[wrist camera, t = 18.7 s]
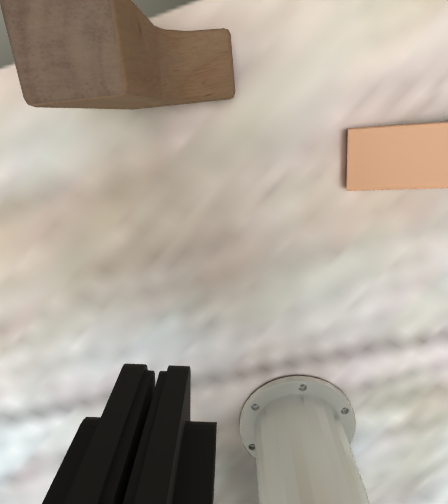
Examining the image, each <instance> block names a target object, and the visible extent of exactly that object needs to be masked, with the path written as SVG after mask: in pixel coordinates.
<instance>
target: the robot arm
mask: <svg viewBox="0 0 448 504" xmlns="http://www.w3.org/2000/svg"><path fill="white" fill-rule="evenodd" d="M190 378H191V371H190V366H168V370H167V371H160V373H159V376H158V379H157V383H156V387H155V372H154V371H148V369H147V365H144V364H124V365H123V367H122V369H121V372H120V374H119V376H118V379H117V381H116V383H115V386H114V388H113V390H112V393H111V395H110V397H109V400H108V402H107V404H106V407H105V409H104V411H103V414H102V416H101V418H100V417H86V418H85V419H84V420H83V421H82V423H81V425H80V427H79V429H78V431H77V433H76V435H75V437H74V439H73V441H72V443H71V445H70V447H69V449H68V451H67V453H66V455H65V457H64V460H63V462H62V464H61V466H60V468H59V470H58V472H57V474H56V476H55V478H54V480H53V482H52V484H51V486H50V488H49V490H48V492H47V495H46V497H45V499H44V501H43V503H42V504H213V498H214V478H215V455H216V427H217V422H194V421H190ZM355 428H356V421H355V415H354V412H353V409H352V407H351V404H350V403H349V401H348V399H347V398H346V396H345V395H344V394H343V393H342V392H341V391H340V390H339V389H338V388H336V387H335V386H333V385H332V384H330V383H328V382H326V381H324V380H321V379H317V378H313V377H307V376H291V377H285V378H280V379H277V380H274V381H272V382H269V383H267V384H265V385H264V386H262V387H261V388H259V389H258V390H256V391H255V392H254V393H253V394H252V395H251V396H250V397H249V399H248V400H247V402H246V403H245V405H244V407H243V409H242V412H241V416H240V435H241V440H242V442H243V444H244V446H245V448H246V449H247V451H248V452H249V453H250V455H252V456H253V457H254V458H255V459H256V465H257V480H258V494H259V504H370V502H369V499H368V496H367V493H366V490H365V487H364V484H363V482H362V479H361V476H360V473H359V470H358V467H357V465H356V462H355V459H354V456H353V453H352V450H351V447H350V443H351V442H352V440H353V437H354V434H355Z"/></svg>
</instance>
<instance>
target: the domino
mask: <svg viewBox="0 0 448 504" xmlns="http://www.w3.org/2000/svg"><path fill="white" fill-rule="evenodd" d="M346 188H347V191H356V190H391V189H427V188H448V122H436V123H422V124H407V125H393V126H378V127H364V128H349V129H348V137H347V183H346Z"/></svg>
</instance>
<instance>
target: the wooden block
mask: <svg viewBox="0 0 448 504" xmlns="http://www.w3.org/2000/svg"><path fill="white" fill-rule="evenodd" d="M0 5H1V9H2V13H3V17H4V21H5V25H6V29H7V33H8V37H9V40H10V45H11V48H12V53H13V57H14V61H15V65H16V69H17V73H18V77H19V81H20V85H21V89H22V93H23V97H24V99H25V101H26V103H27V104H28V105H31V106H34V107H50V108H97V109H140V108H150V107H159V106H168V105H178V104H187V103H197V102H206V101H216V100H225V99H231V98H233V97H234V94H235V84H234V71H233V59H232V47H231V35H230V32H229V30H228V29H224V28H223V29H210V30H198V31H177V30H164V29H161V28H159V27H156V26H154V25H153V24H152V23H151V22H150V21H149V19H148V18H147V17H146V16H145V15H144V14H143V13H142V12H141V11H140V10H139V9H138V7H137V6H136V5H135V4H134V3H133V2H132V1H131V0H0Z"/></svg>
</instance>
